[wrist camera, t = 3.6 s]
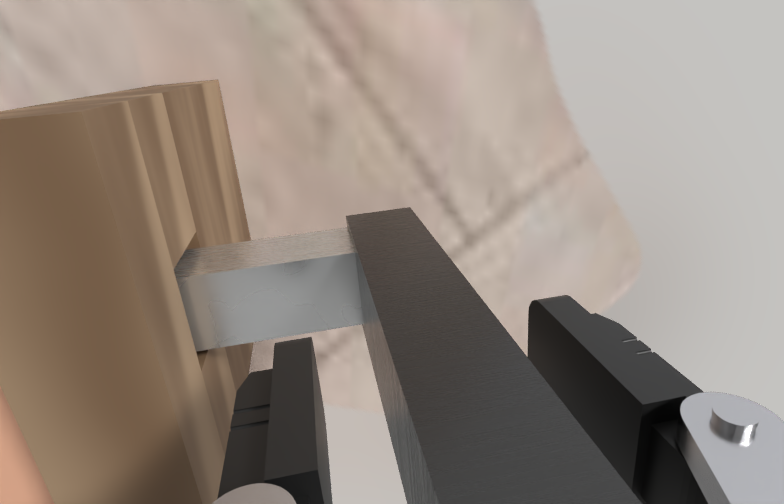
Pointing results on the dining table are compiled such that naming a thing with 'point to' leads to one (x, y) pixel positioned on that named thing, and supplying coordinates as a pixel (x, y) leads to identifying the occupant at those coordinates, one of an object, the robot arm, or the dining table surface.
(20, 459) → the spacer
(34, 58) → the dining table surface
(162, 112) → the block
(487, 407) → the l-shaped bracket
